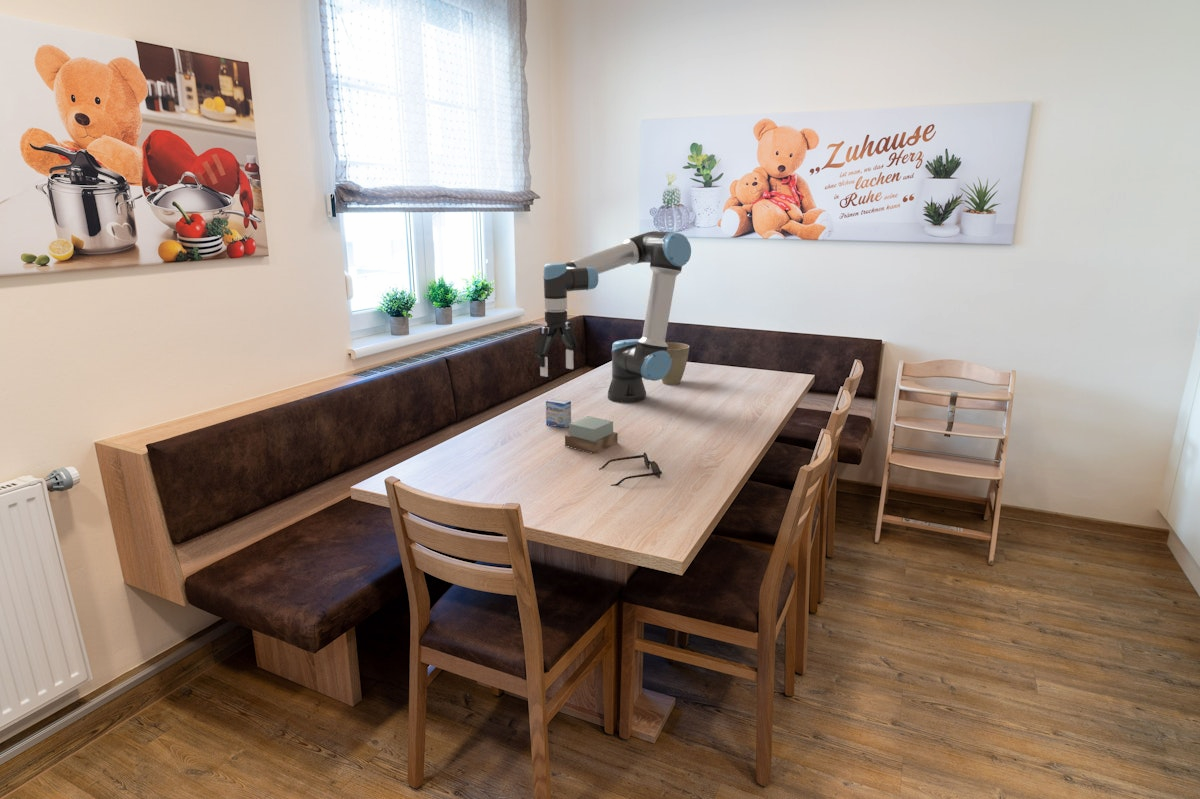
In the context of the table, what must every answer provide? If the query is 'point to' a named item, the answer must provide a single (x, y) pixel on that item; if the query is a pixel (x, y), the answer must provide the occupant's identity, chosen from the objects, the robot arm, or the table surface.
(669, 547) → the table surface
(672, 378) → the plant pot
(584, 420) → the sage slab
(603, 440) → the walnut slab
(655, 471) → the eyeglasses
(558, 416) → the medicine box
